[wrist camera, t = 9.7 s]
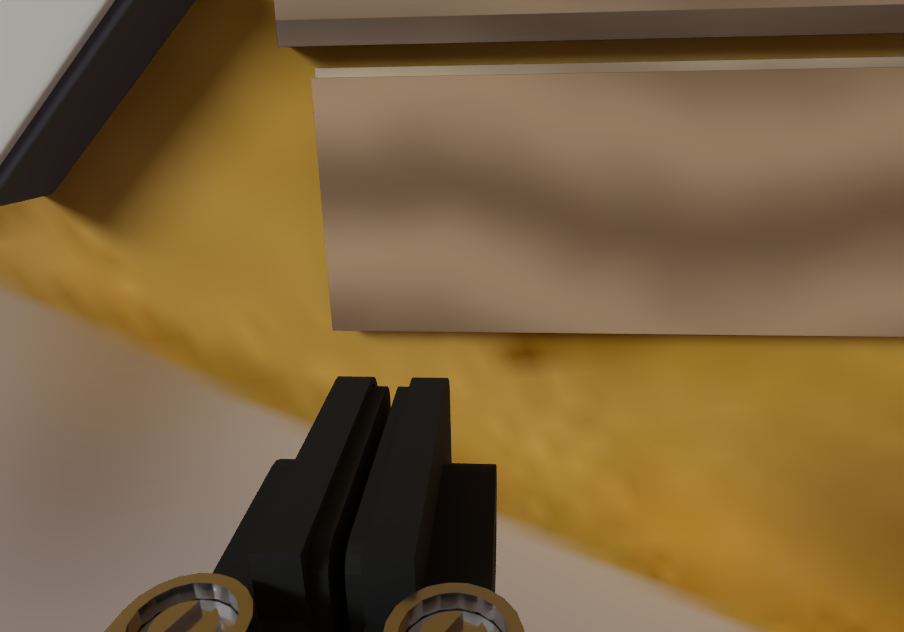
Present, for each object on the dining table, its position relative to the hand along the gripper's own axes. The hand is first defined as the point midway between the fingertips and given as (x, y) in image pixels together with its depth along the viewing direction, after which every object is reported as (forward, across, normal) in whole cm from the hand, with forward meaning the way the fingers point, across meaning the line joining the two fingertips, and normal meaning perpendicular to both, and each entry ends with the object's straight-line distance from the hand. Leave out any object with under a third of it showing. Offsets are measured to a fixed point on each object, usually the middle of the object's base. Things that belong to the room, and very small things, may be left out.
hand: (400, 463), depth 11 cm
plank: (+16, -6, -1) cm, 17 cm away
